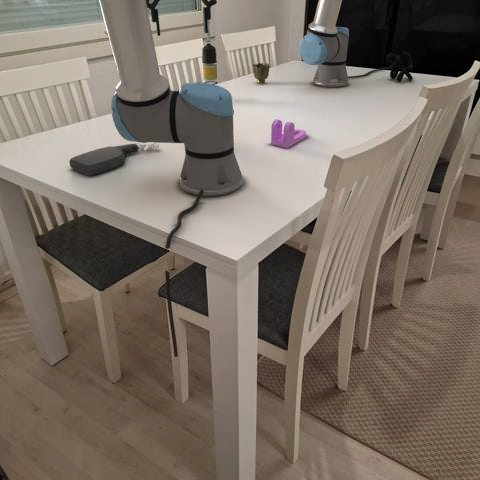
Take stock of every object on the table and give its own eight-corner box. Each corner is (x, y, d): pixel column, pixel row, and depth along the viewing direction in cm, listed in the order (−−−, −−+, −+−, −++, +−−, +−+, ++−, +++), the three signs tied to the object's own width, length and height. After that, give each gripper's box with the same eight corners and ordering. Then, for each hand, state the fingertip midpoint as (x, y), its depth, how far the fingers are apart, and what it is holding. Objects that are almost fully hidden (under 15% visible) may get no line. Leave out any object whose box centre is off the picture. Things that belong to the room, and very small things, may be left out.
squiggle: (400, 92, 202) (376, 71, 205) (417, 76, 202) (392, 56, 205) (405, 81, 191) (380, 59, 194) (423, 64, 191) (397, 42, 194)
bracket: (287, 148, 130) (288, 124, 126) (271, 144, 133) (271, 121, 129) (309, 135, 139) (310, 113, 135) (293, 132, 142) (294, 110, 138)
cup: (250, 84, 198) (249, 65, 194) (257, 80, 204) (257, 62, 200) (265, 85, 195) (265, 66, 191) (272, 82, 201) (272, 63, 197)
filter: (220, 99, 177) (217, 15, 161) (206, 100, 176) (202, 16, 160) (215, 96, 182) (212, 14, 166) (202, 97, 180) (197, 14, 164)
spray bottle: (67, 168, 120) (139, 144, 136) (91, 178, 114) (163, 151, 130) (65, 157, 118) (137, 134, 134) (89, 167, 112) (162, 142, 128)
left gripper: (219, -55, 122) (222, 30, 133) (126, -54, 117) (138, 34, 129) (225, -56, 116) (227, 33, 127) (127, -55, 111) (139, 37, 122)
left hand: (182, 34), depth 128 cm, fingers open, 13 cm apart
